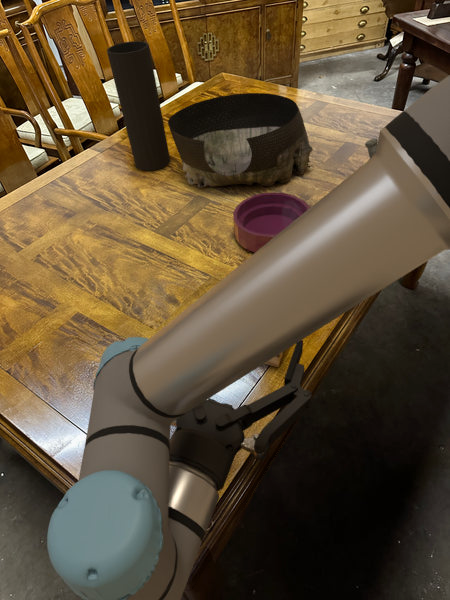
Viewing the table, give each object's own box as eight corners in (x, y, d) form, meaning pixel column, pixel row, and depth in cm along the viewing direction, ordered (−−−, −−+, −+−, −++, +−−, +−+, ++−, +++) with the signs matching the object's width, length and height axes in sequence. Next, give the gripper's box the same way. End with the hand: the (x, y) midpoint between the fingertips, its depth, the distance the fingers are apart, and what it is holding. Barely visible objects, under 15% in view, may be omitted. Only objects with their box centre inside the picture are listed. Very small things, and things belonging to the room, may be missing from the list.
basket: (287, 212, 99) (289, 146, 88) (161, 189, 111) (149, 128, 100) (320, 157, 117) (325, 96, 105) (208, 142, 129) (202, 86, 117)
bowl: (322, 225, 94) (324, 204, 90) (286, 267, 85) (286, 245, 81) (259, 206, 102) (259, 185, 98) (220, 242, 93) (218, 222, 89)
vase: (159, 173, 118) (134, 54, 96) (129, 169, 121) (98, 53, 100) (176, 156, 124) (156, 41, 103) (146, 153, 127) (121, 40, 106)
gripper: (103, 455, 52) (177, 331, 65) (300, 532, 44) (339, 373, 58) (83, 426, 46) (169, 297, 60) (304, 507, 39) (346, 338, 52)
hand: (252, 334), depth 59 cm, fingers open, 13 cm apart
